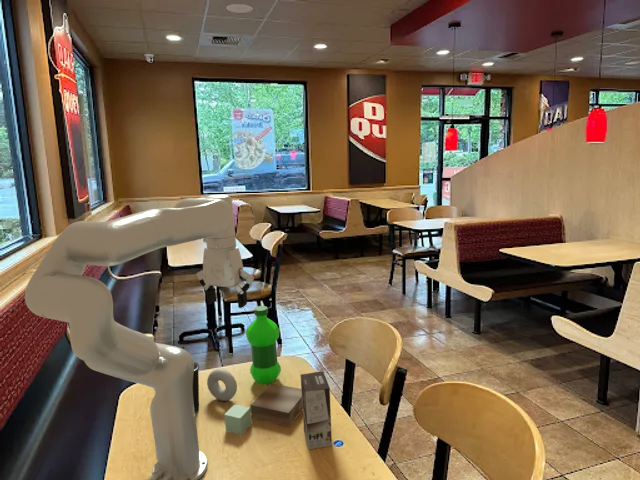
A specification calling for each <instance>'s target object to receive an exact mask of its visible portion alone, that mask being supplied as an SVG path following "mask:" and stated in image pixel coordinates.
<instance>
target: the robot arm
mask: <svg viewBox="0 0 640 480" xmlns="http://www.w3.org/2000/svg"><path fill="white" fill-rule="evenodd" d="M233 207H234V206H233V200H232V197H231V196H230V195H228V194H212V195H206V196H205V197H198V198H197V197H196V198H195V197H193V198H192V197H191V198H189V197H188V198H184V199H181V200H180V201H178V202H177V203H176V204H175V206H174V208H173V207H165V208H163V207H162V208H151V209H146V210H143V211H139V212H136V213H131V214H129V215H125V216H121V217H116V218H115V219H111V220H106V221H88V220H87V221H85V220H80V221H75V222H73V223H70V224H69V225H68V226H67V227H66V228H64V230H62V231H61V233H60V234H59V235H58V237H56V239H55V240H54V241H53V243H52V244H51V246H50V247H49V249H48V251H47V252H46V253H45V255H44V257H43V259H41V261H40V263H39V264H38V266H37V267H36V269H35V271H34V273H33V274H32V276H31V277H30V279H29V281H28V282H27V285H26V287H25V292H24V300H25V305H26V307H27V308H28V309H29V311H30V312H31V313H33V314H34V315H36V316H39V317H40V318H41V317H42V318H45V319H48V320H49V319H50V320H53V321H55V320H56V321H60V322H64V323H68V326H69V339H70V346H71V350H72V352H73V354H74V355H75V357H77V358H79V359H80V360H81V361H83V362H84V363H85V365H86V366H87V367H88V368H89V369H91V370H93V371H95V372H99V373H101V374H104V375H108V376H111V377H114V378H118V379H121V380H125V381H127V382H131V383H135V384H139V385H143V386H146V387H150V388H153V390H154V391H155V392H154V396H153V397H152V399H151V401H150V406H149V411H150V418H151V424H152V430H153V431H152V432H153V433H152V434H153V439H154V447H155V452H156V453H155V455H156V461H157V462H156V463H154V465H153V468H152V471H151V476H150V477H148V478H147V479H146V480H199V479H201V478H202V477H203V476H204V475H205V473H206V471H207V469H208V459H207V456H206V454H205V453H204V452H202V451H200V445H199V436H198V428H197V421H196V420H197V419H196V413H195V409H194V401H193V374H194V362H195V361H194V357H192V354H191V353H190V352H189V351H188V350H186V349H185V348H184V349H185V350H184V349H182V347H179V346H175V345H169V344H165V343H159V342H155V341H154V340H153V339H152V338H151V337H150V336H148V335H147V334H145V333H144V332H139V331H137V330H134V329H131V328H129V327H127V326H125V325H123V324H121V323H118V322H117V321H115V318H114V302H113V301H114V300H113V296H112V293H111V291H110V289H109V287H108V286H106V284H105V283H104V282H102V281H100V279H97V278H95V277H92V276H87V275H83V273H84V271H85V270H86V267H87V266H88V265H89V266H97V267H98V266H99V267H113V266H119V265H121V264H123V263H127V262H129V261H131V260H133V259H136V258H139V257H141V256H143V255H145V254H148V253H151V252H153V251H156V250H158V249H162V248H167V247H172V246H177V245H182V244H186V243H191V242H195V241H199V240H202V242H203V243H205V244H206V247H205V248H203V249H204V250H203V257H202V258H203V259H202V269H201V270H200V271H198V272H196V275H195V276H197V279H198V281H199V284H200V285H201V286H202V287H203V291H205V294H206V301H207V304H208V305H212V304H213V303H215V302H217V292H216V287H221V288H222V287H223V288H235V290H237V291H238V292H237V295H236V296H237V306H238V308H239V309H242V308H244V307H246V306H247V305H248V295H247V291H248V290H249V289H250V288H251V287H252V284H253V282H254V279H255V277H254V275H252V274H251V273H249V272H247V271H245V269H244V264H243V259H242V255H241V251H240V249H239V246H237V241H236V240H237V239H236V237H237V236H236V228H235V218H234V216H235V215H234V208H233ZM245 280H246V281H245ZM244 281H245V282H244Z"/></svg>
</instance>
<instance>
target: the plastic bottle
mask: <svg viewBox="0 0 640 480" xmlns="http://www.w3.org/2000/svg"><path fill="white" fill-rule="evenodd" d="M268 314H269V308H268V307H267V306H265V305H258V306H255V307H254V308H253V315H255V317H256V318H255V319H254V320H253V322H252V323H250V325H249V326H247V328H246V331H245V336H246V340H247V341H248V343H249V344H250V347H251V349H250V350H251V360H252V364H251V366H250V369H249V372H250V375H251V377H252V378H253V380H254V381H255V382H257V383H258V384H260V385H265V386H266V385H268V386H269V385H270V384H271V383H272V384H274V382H275V381H276V380H277V379H278V377H280V374H281V371H282V368H281V365H280V363H279V361H278V354H277V353H278V352H277V341H278V339H279V337H280V328H279V327H278V325H277V324H276V322H274V321H273V320H272V319H270V318H268V317H267V316H268Z"/></svg>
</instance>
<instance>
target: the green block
mask: <svg viewBox="0 0 640 480" xmlns="http://www.w3.org/2000/svg"><path fill="white" fill-rule="evenodd" d="M224 425H225V431H226V432H229V433H233V434H237V435H240V436H241V435H243V434H244V433H245V432H246V431H247V429H248V428H249V427H250V426H251V425H252V417H251V407H248V406H243V405H238V404H233V405H232V406H231V407H230V408H229V409H228V410H227V411H226V412H225V413H224Z"/></svg>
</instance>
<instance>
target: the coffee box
mask: <svg viewBox="0 0 640 480" xmlns="http://www.w3.org/2000/svg"><path fill="white" fill-rule="evenodd" d="M299 376H300V387H301V388H300V389H301V393H302V408H303V409H302V420H303V421H302V423H303V431H304V436H305V440H306V446H307V449H308V450H313V449H320V448H325V447H332V445H333V443H332V442H333V441H332V439H333V438H332V437H333V436H332V413H331V388H330V385H329V382H328V379H327V378H326V374H325V372H324V371H323V370H321V371H315V372H310V373H309V372H308V373H302V374H300V375H299Z"/></svg>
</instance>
